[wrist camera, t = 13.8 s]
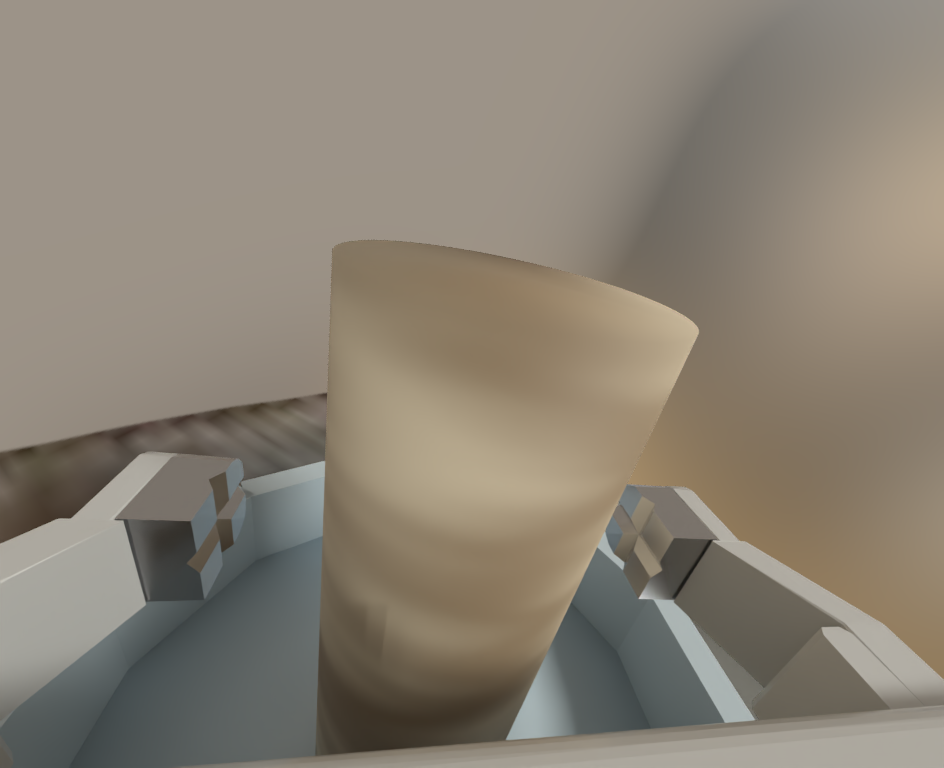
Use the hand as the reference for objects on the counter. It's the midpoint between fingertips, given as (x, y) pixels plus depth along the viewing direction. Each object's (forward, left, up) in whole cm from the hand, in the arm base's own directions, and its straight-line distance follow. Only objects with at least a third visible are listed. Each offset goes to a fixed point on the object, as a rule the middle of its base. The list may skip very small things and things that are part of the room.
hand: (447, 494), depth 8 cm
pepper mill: (0, -1, -9) cm, 9 cm away
